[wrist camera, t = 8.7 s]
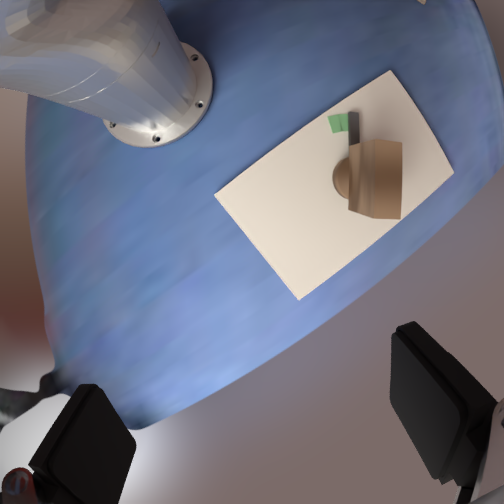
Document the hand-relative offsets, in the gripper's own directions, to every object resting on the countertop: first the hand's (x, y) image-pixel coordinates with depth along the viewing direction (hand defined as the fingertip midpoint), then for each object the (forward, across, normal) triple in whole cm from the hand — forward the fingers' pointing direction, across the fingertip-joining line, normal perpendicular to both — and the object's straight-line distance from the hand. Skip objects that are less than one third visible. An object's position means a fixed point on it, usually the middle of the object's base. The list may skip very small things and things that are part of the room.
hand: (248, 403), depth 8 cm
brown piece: (+22, -12, -6) cm, 26 cm away
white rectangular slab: (+24, -12, -4) cm, 27 cm away
